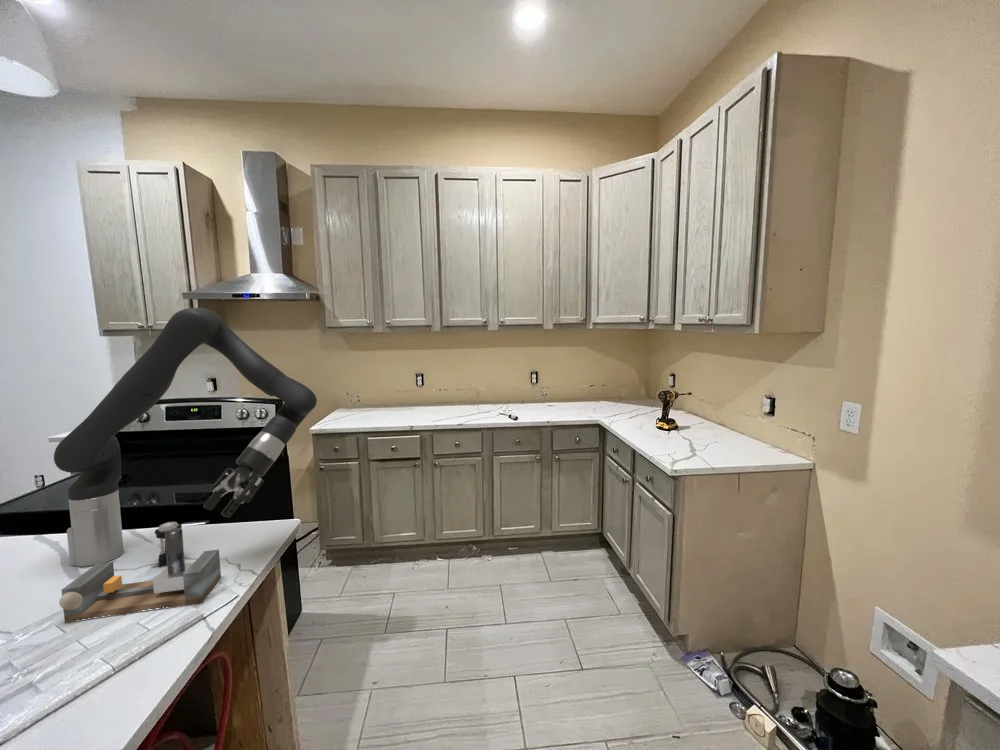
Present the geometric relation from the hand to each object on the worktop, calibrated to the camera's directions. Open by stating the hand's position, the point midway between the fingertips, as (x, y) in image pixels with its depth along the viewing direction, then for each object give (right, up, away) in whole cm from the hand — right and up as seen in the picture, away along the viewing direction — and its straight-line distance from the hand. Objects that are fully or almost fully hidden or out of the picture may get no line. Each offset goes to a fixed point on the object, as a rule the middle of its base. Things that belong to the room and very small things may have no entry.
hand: (215, 512), depth 98 cm
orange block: (-16, -13, -9) cm, 22 cm away
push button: (-17, -16, +7) cm, 24 cm away
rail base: (-9, -16, -7) cm, 20 cm away
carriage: (-4, -14, -6) cm, 16 cm away
